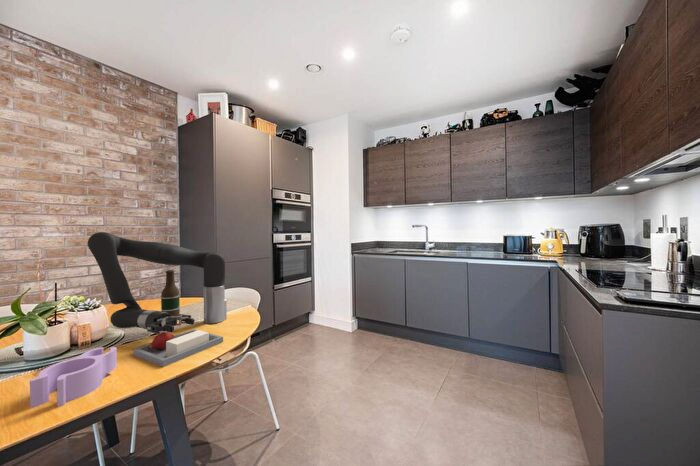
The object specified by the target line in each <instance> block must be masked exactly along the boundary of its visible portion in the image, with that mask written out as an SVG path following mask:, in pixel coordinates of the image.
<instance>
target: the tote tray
mask: <svg viewBox="0 0 700 466" xmlns="http://www.w3.org/2000/svg"><path fill="white" fill-rule="evenodd" d="M197 330H198V329H196V328H195V329H190V330H188V331H184V332H181V333H179V334H176V335H175V334H174V337H173V339H175V338H177V337H180V336H183V335H186V334H189V333H192V332H194V331H197ZM208 333H209V341H208V342H205V343H203V344H200V345H198V346H195V347H193V348H190V349H188V350H185V351H182V352H180V353H177V354H175V355H172V356H170V357H168V356H166V348H165V349H162V350H157V349H150V348H149V346H151V345H152V342H151V343H149V344H146V345H142V346H139V347H137V348H135V349H134V348H133V356H134V357H136V358H139V359H142V360H144V361H147V362H150V363H152V364H155V365H157V366H159V367H163V368H164V367H168V366H169V365H172V364H174V363H177V362H179V361H181V360H184V359H186V358H188V357H191V356H194V355H196V354H198V353H200V352H202V351H205V350H208V349H210V348H212V347H215V346H217V345H219V344H222V343H224V336H223V335H222V336H221V335H217V334H213V333H211V332H208Z"/></svg>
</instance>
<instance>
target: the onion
mask: <svg viewBox="0 0 700 466" xmlns="http://www.w3.org/2000/svg"><path fill="white" fill-rule="evenodd" d="M174 336H175V334H174V333H173V332H167V331H165V332H162V331H161V332H159V333H157V335H156V336H155V337H154V338H153V339H152V341H151V343H152V345H151V346H149V348H150V349H157V350H162V349H165V348H166V341H169V340H172V339H173V337H174Z"/></svg>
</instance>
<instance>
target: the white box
mask: <svg viewBox="0 0 700 466" xmlns="http://www.w3.org/2000/svg"><path fill="white" fill-rule="evenodd" d="M196 330H197V331H194V332H192V333H189V334H186V335H183V336H180V337H177V338H175V339H172V340H169V341H166V356H168V357H170V356H172V355H175V354H177V353H180V352H182V351H185V350H188V349H190V348H193V347H195V346H198V345H200V344H203V343H205V342H208V341H209V333H210V332H209V331H208V332H207V331H203V330H200V329H196Z"/></svg>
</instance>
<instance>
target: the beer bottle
mask: <svg viewBox="0 0 700 466" xmlns="http://www.w3.org/2000/svg"><path fill="white" fill-rule="evenodd" d="M165 273H166V275H165V287H164V288H163V290H162V292H161V296H160V304H161V306H160V308H161V309H160V311H162V312H167V313H169V315H170V316H174V317H175V316H179V314H181V313H180V312H181V311H180V309H181V308H180V305H181V304H180V302H181V301H180V290H179V289H178V287H177V286H176V283H175V270H173V269H168V270H166V271H165Z"/></svg>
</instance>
